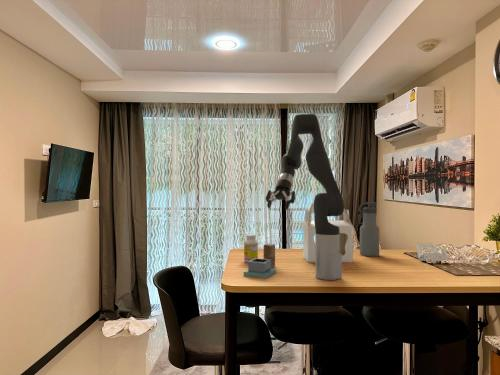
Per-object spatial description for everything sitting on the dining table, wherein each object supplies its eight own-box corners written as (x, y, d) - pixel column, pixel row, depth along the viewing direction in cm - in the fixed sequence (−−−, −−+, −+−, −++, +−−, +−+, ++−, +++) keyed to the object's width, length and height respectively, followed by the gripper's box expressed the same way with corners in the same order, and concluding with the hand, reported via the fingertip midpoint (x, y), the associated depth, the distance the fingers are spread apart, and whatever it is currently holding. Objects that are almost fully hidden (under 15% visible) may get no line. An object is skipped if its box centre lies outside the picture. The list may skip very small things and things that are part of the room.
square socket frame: (271, 269, 138) (271, 259, 138) (264, 273, 132) (264, 263, 132) (255, 267, 141) (255, 258, 141) (248, 271, 135) (248, 261, 135)
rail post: (275, 266, 151) (275, 244, 151) (271, 268, 147) (271, 245, 147) (266, 265, 152) (266, 243, 153) (263, 267, 149) (263, 244, 149)
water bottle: (355, 254, 178) (355, 202, 178) (364, 252, 185) (364, 201, 185) (373, 257, 171) (373, 202, 171) (382, 255, 177) (382, 202, 178)
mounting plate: (275, 272, 139) (275, 268, 139) (266, 278, 130) (266, 274, 130) (253, 270, 143) (253, 266, 143) (243, 275, 134) (243, 271, 134)
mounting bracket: (445, 266, 160) (440, 244, 165) (452, 263, 155) (446, 240, 159) (420, 266, 161) (415, 244, 165) (426, 263, 155) (421, 240, 159)
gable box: (307, 262, 159) (307, 203, 159) (302, 257, 172) (302, 202, 172) (353, 262, 159) (353, 203, 160) (345, 256, 172) (345, 202, 173)
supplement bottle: (242, 260, 163) (242, 234, 163) (255, 259, 165) (255, 233, 165) (246, 263, 157) (246, 235, 157) (259, 262, 159) (259, 235, 159)
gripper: (269, 178, 170) (261, 202, 160) (297, 178, 165) (290, 203, 155) (273, 188, 175) (265, 212, 165) (299, 189, 170) (293, 213, 160)
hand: (277, 208), depth 160 cm, fingers open, 8 cm apart
